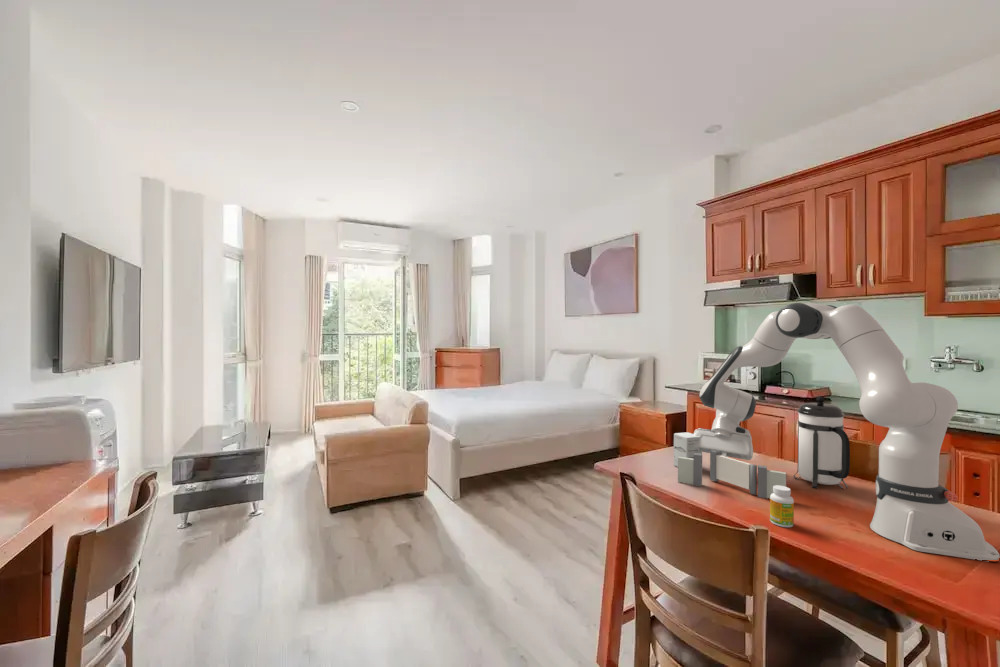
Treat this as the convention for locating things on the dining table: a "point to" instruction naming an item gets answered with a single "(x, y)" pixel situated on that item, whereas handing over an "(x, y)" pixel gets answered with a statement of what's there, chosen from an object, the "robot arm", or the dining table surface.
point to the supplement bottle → (781, 506)
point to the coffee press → (822, 444)
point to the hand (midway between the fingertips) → (716, 464)
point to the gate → (733, 471)
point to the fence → (693, 475)
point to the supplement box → (684, 446)
